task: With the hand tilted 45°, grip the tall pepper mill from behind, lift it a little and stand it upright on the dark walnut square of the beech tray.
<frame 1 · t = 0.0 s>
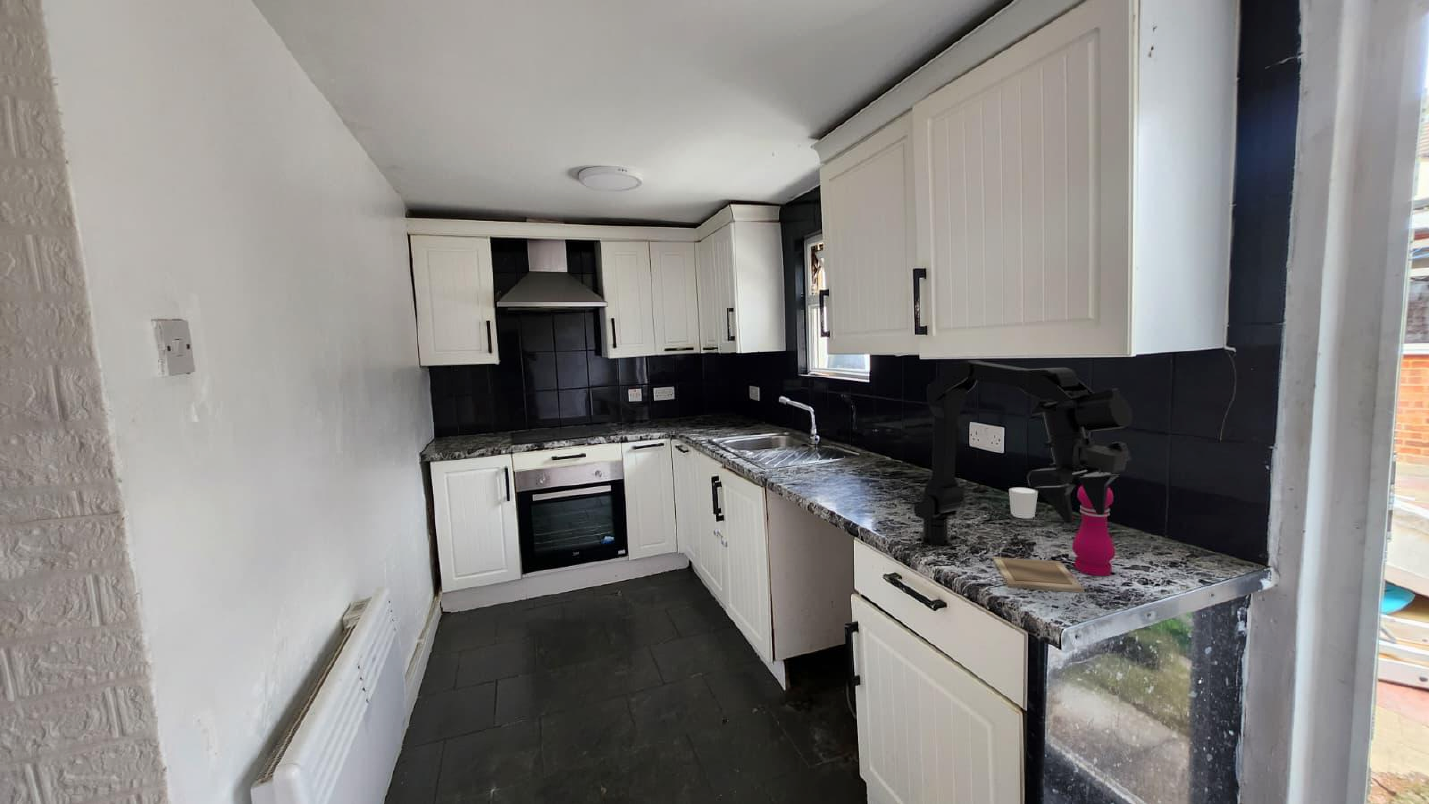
hand: (1085, 518, 97), 15 cm above the counter, tool pointing down, fingers open, 9 cm apart
white cup: (1022, 515, 145), on the counter
pepper mill: (1092, 570, 110), on the counter
beech tray: (1035, 575, 109), on the counter
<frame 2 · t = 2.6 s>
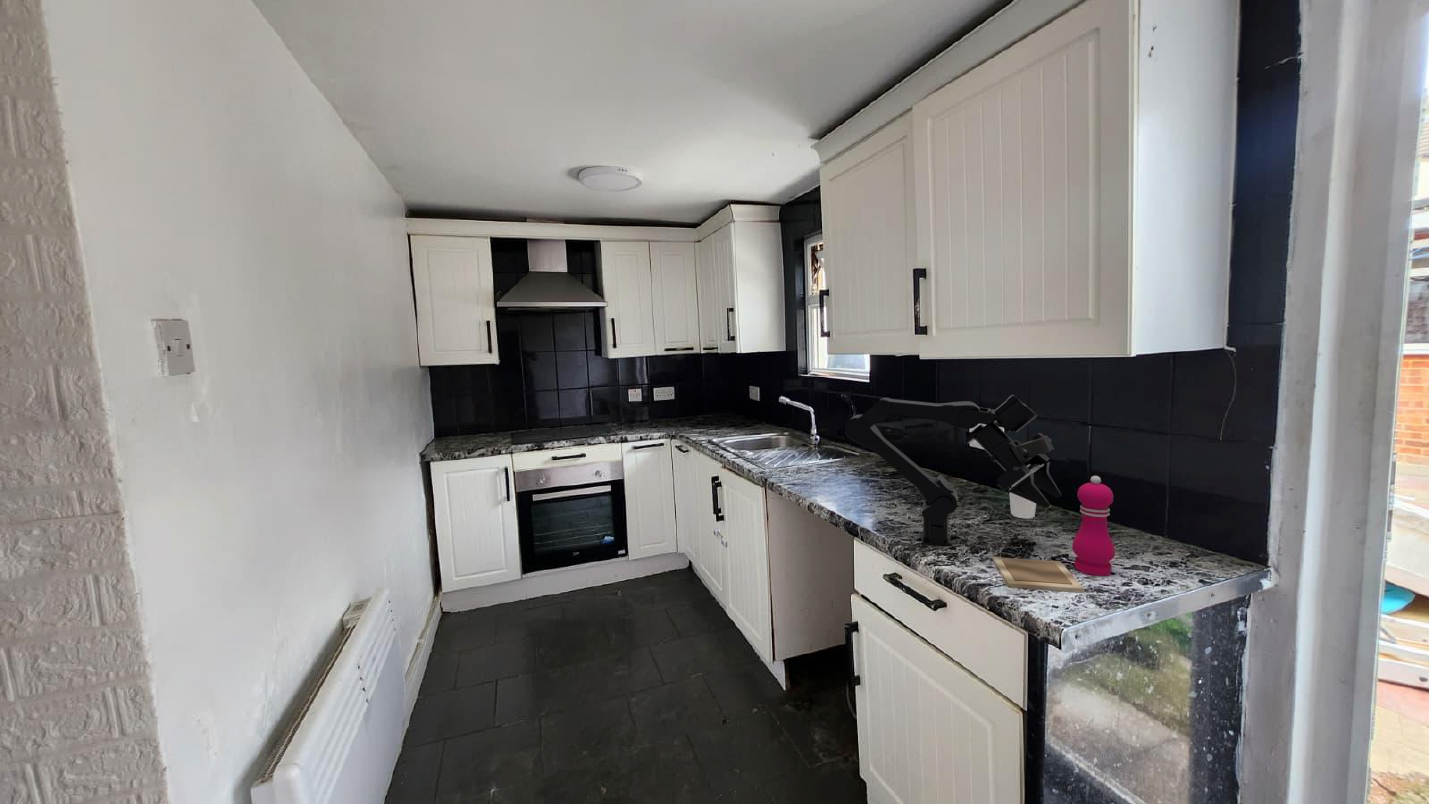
hand: (1054, 501, 114), 13 cm above the counter, tool tilted 45°, fingers open, 9 cm apart
nothing on the counter moved.
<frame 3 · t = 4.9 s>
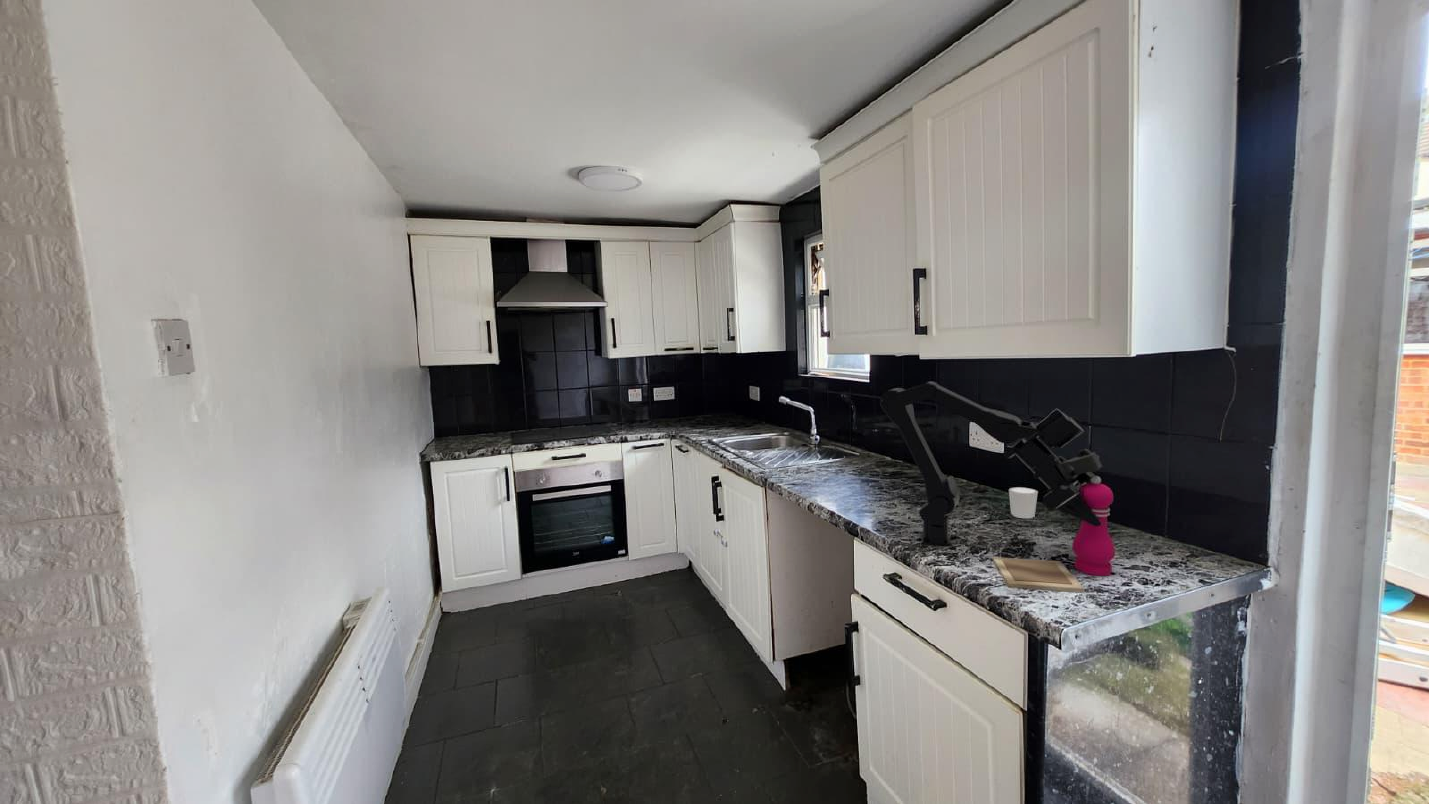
hand: (1102, 521, 108), 11 cm above the counter, tool tilted 45°, fingers closed on pepper mill, 5 cm apart
pepper mill: (1092, 570, 110), on the counter, touching gripper
everything else where it was.
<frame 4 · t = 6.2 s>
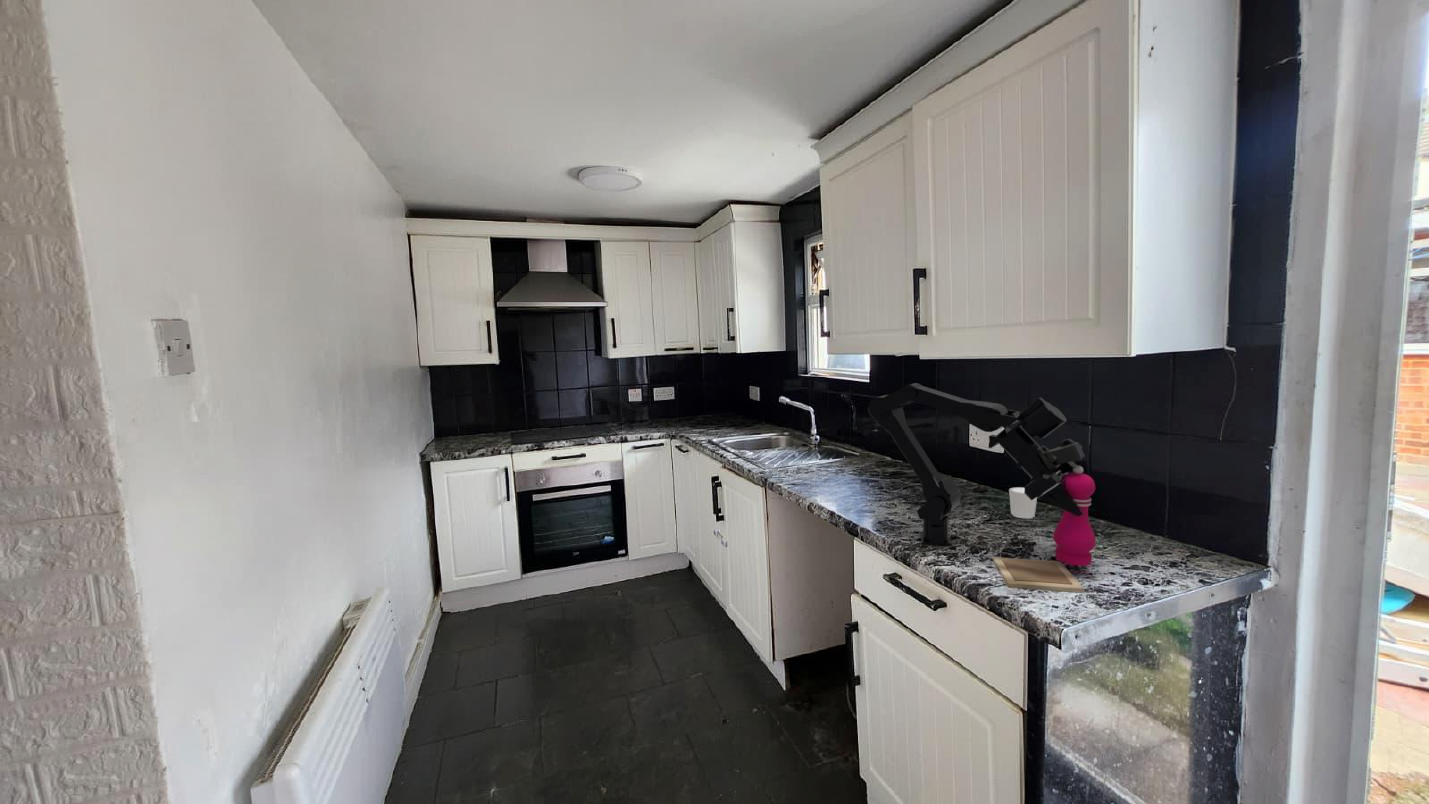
hand: (1083, 511, 108), 13 cm above the counter, tool tilted 45°, fingers closed on pepper mill, 5 cm apart
pepper mill: (1072, 560, 110), point 2 cm above the counter, touching gripper
everything else where it was.
when the fingers open (13 cm above the counter, at t = 7.7 s): pepper mill stays where it is, resting on beech tray.
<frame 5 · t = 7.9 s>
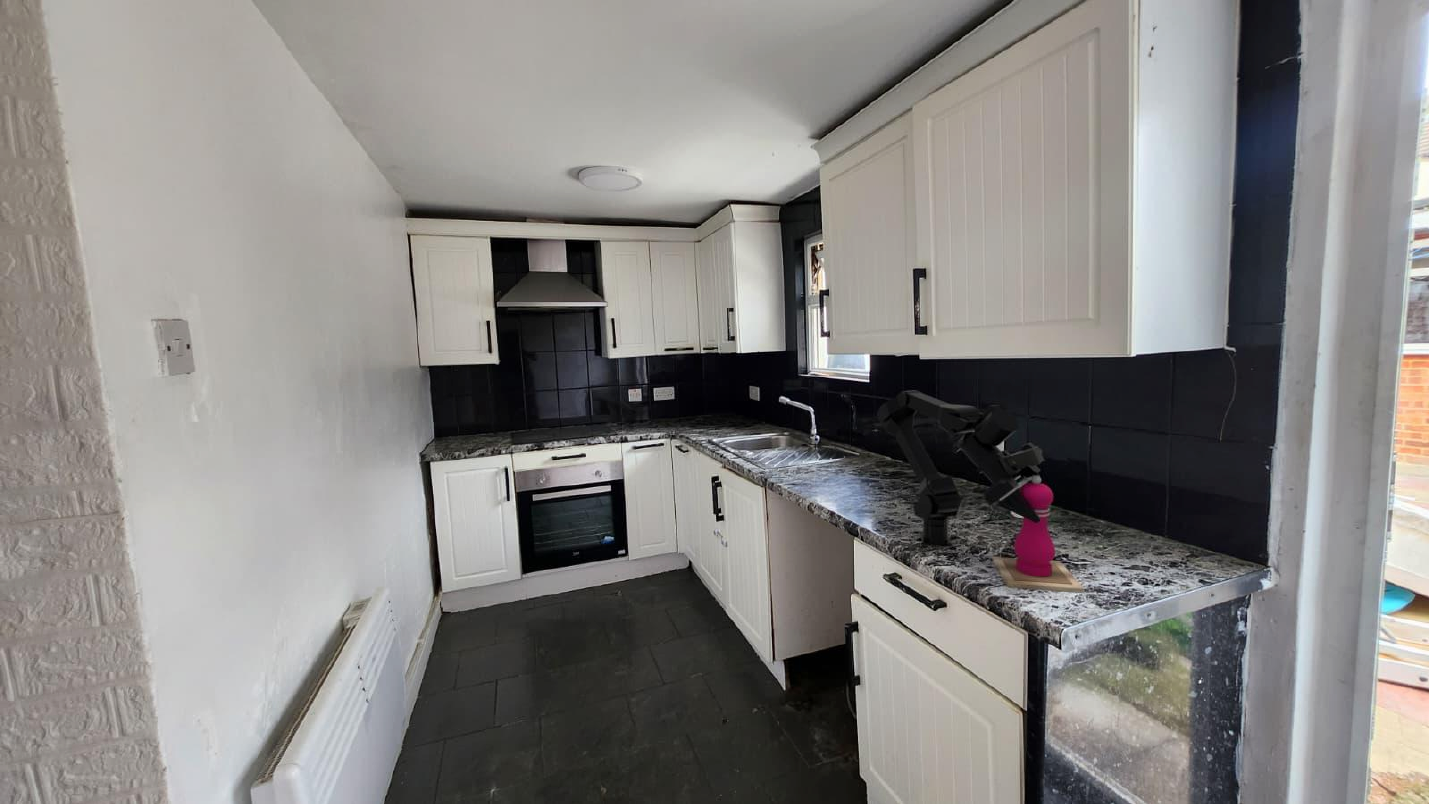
hand: (1044, 516, 106), 13 cm above the counter, tool tilted 45°, fingers open, 7 cm apart
pepper mill: (1033, 571, 109), point 1 cm above the counter, touching beech tray
everything else where it was.
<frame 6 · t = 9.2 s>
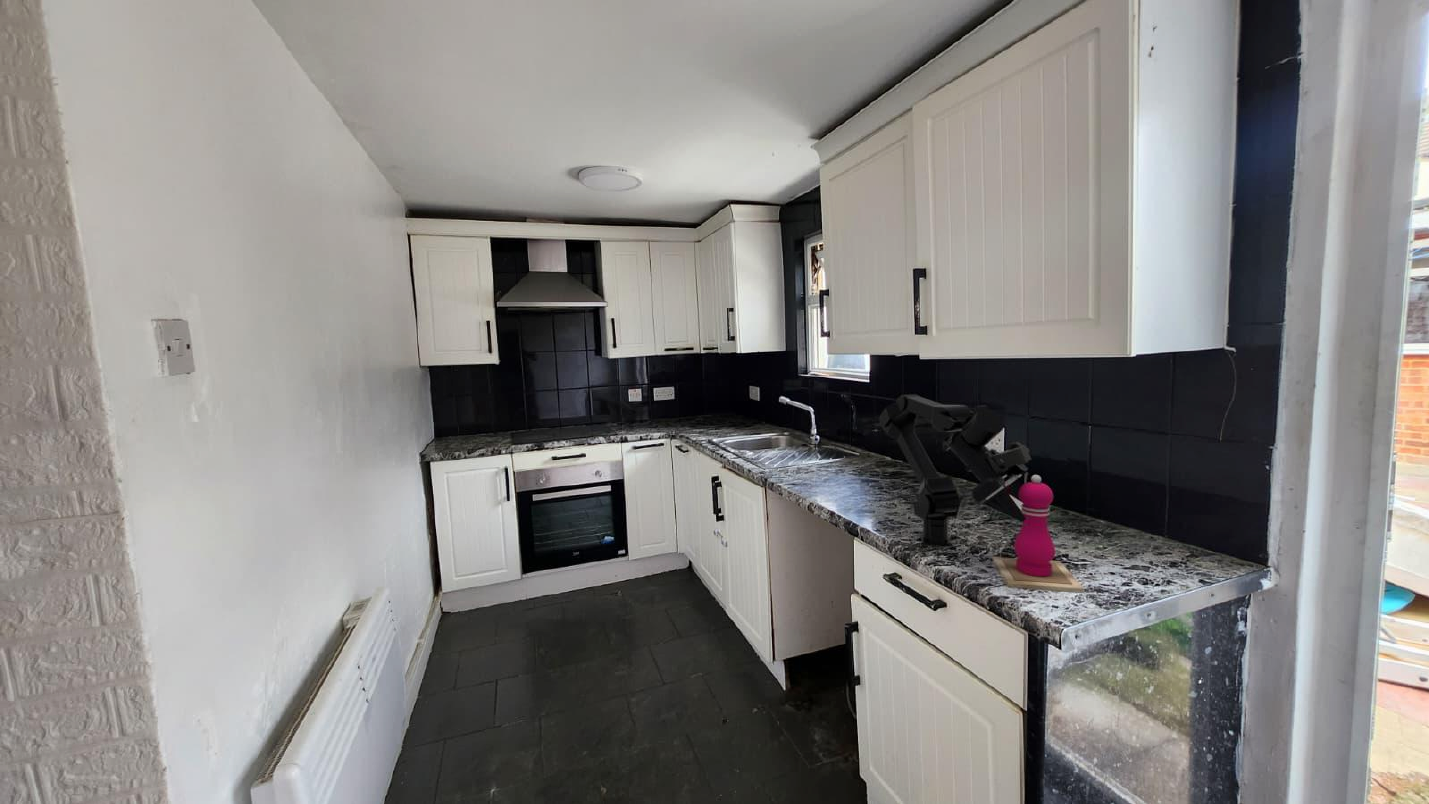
hand: (1031, 514, 108), 13 cm above the counter, tool tilted 45°, fingers open, 9 cm apart
nothing on the counter moved.
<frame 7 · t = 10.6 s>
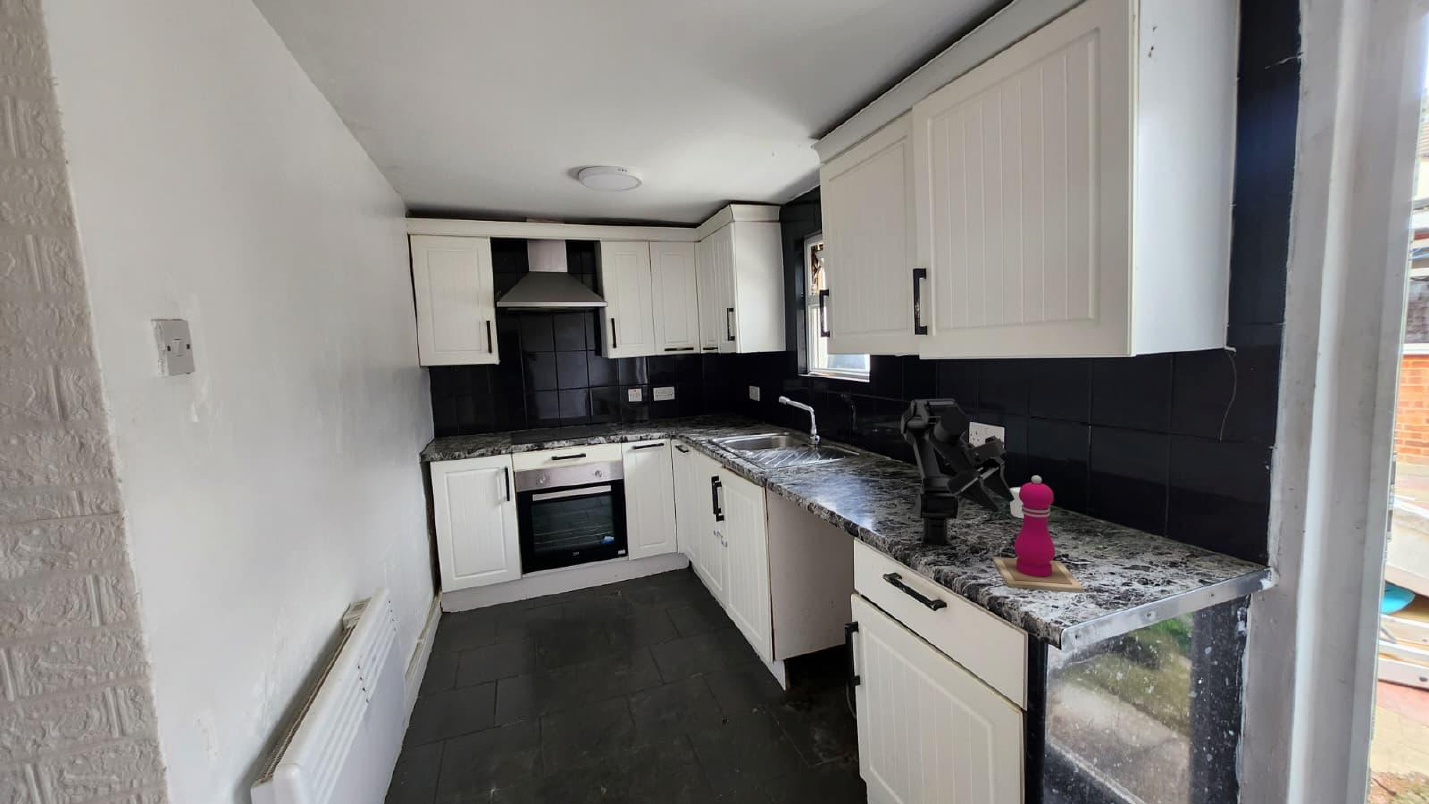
hand: (1005, 505, 112), 14 cm above the counter, tool tilted 45°, fingers open, 9 cm apart
nothing on the counter moved.
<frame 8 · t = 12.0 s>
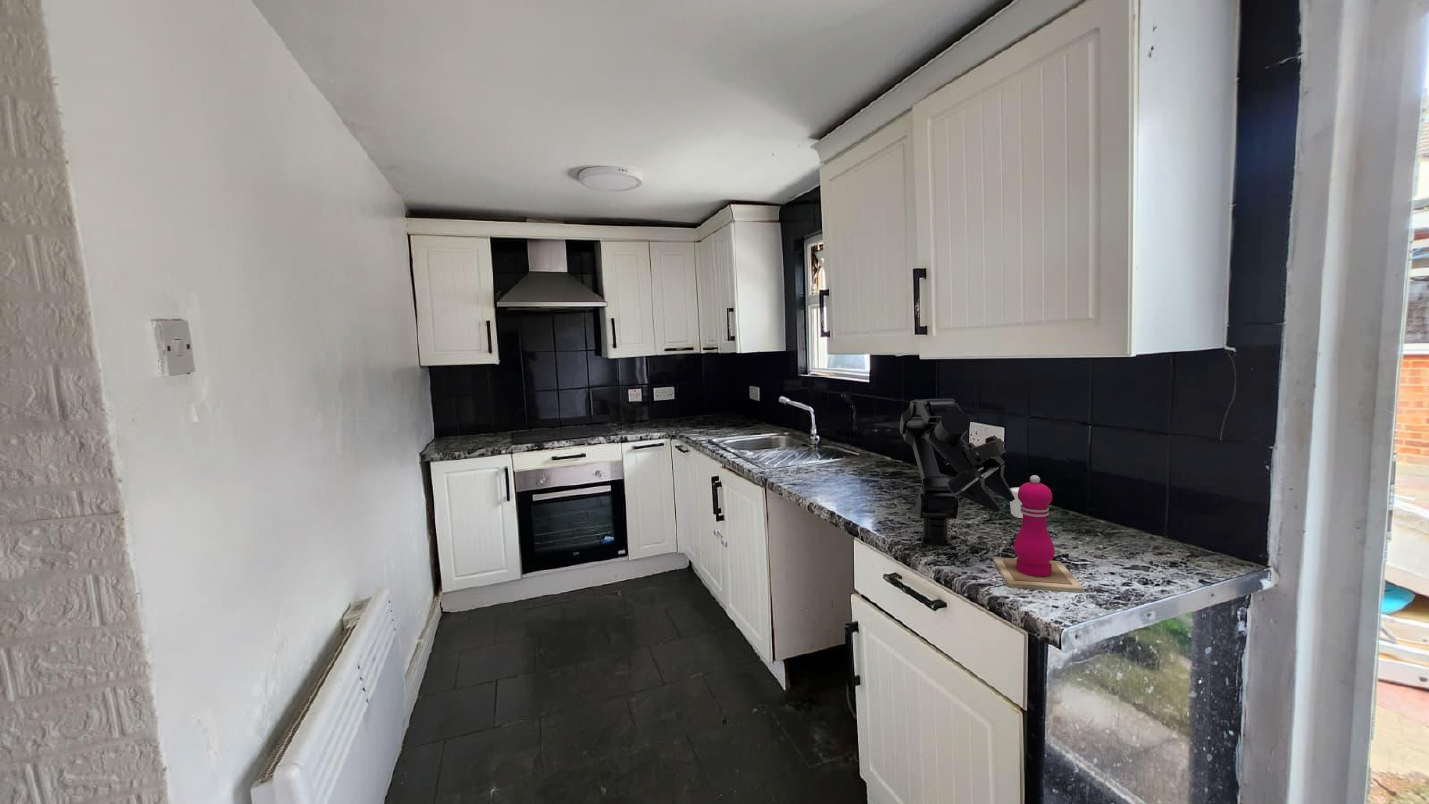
hand: (1006, 505, 112), 14 cm above the counter, tool tilted 45°, fingers open, 9 cm apart
nothing on the counter moved.
at the end: pepper mill inside the target area on the beech tray (0.2 cm from its centre), point 0.8 cm above the beech tray's base; pepper mill tilted 0°; the gripper is holding nothing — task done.
